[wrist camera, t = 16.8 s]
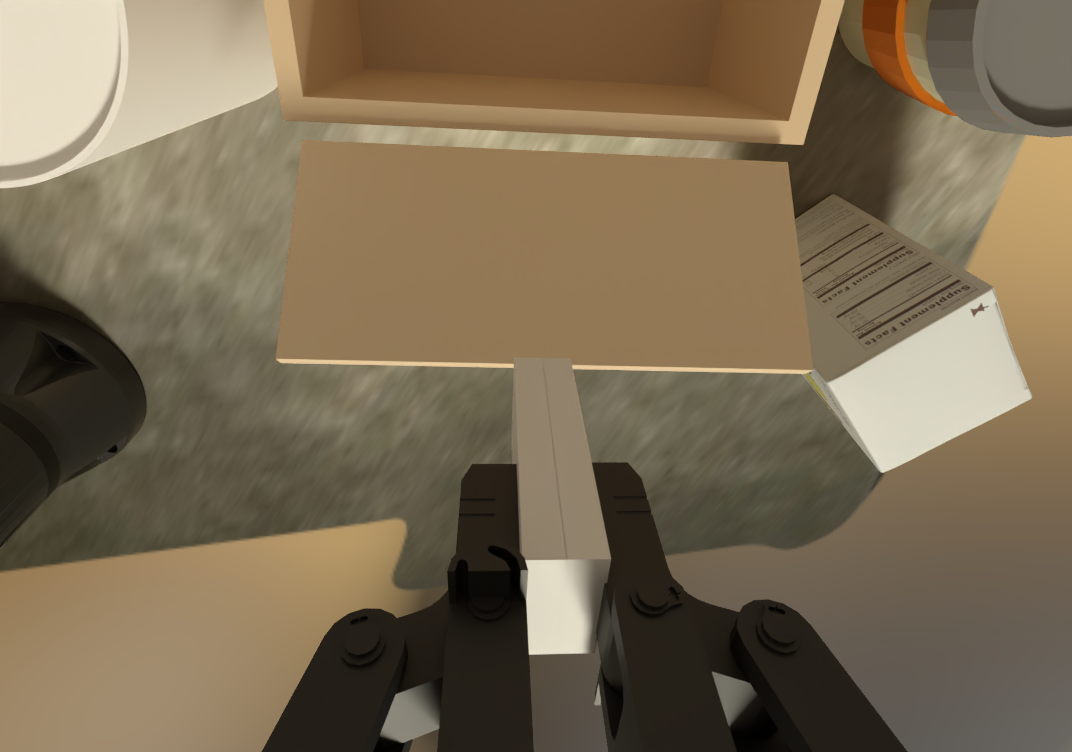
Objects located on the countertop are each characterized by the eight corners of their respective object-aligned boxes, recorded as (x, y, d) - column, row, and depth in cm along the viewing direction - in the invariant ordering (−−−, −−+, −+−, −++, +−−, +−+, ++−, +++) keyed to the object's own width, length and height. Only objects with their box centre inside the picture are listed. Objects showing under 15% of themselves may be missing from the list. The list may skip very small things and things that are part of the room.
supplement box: (723, 263, 45) (821, 380, 31) (833, 188, 43) (996, 280, 28) (775, 344, 50) (882, 479, 36) (878, 281, 47) (1039, 401, 33)
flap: (302, 140, 25) (306, 148, 26) (275, 358, 23) (281, 362, 23) (787, 162, 27) (781, 169, 27) (813, 370, 24) (806, 373, 25)
